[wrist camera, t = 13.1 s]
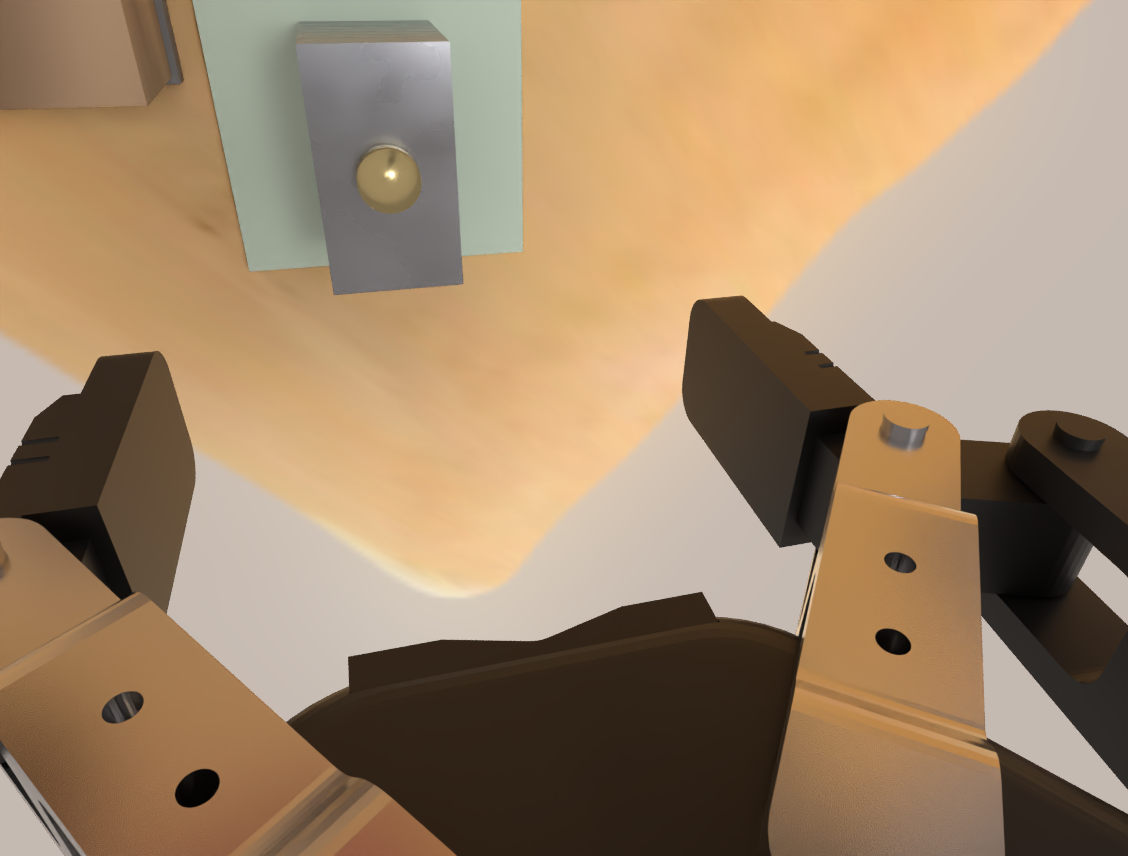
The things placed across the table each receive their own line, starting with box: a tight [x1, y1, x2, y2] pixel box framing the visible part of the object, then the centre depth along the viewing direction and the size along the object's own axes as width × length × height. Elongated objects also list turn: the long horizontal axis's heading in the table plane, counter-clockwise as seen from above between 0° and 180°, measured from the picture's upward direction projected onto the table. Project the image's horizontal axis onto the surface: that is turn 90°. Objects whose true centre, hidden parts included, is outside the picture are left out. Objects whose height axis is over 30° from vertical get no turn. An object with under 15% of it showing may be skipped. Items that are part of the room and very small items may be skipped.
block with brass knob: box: [295, 20, 463, 295], centre depth 24 cm, size 4×7×6 cm, turn 179°
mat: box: [192, 0, 523, 272], centre depth 27 cm, size 10×9×1 cm
